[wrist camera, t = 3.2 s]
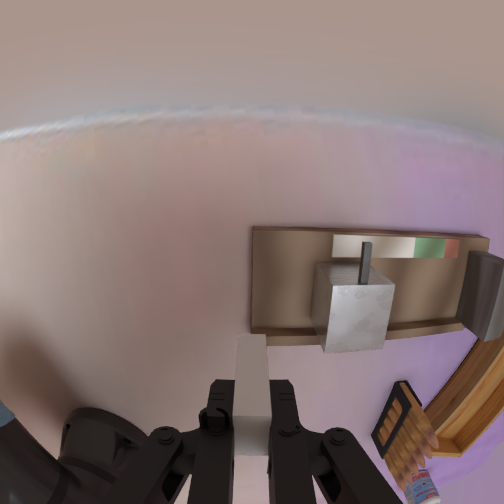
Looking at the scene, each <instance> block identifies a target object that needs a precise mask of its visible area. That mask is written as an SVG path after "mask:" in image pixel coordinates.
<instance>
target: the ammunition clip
mask: <svg viewBox="0 0 504 504" xmlns="http://www.w3.org/2000/svg"><path fill="white" fill-rule="evenodd" d="M421 407H422V404H421V402H420V400H419V399H418V397H417V396H416V394H415V392H414V391H413V389H412V388H411V386H410V384H409V383H408V381H399V382H395V384H394V386H393V389H392V391H391V394H390V396H389V398H388V401H387V403H386V405H385V407H384V410H383V412H382V414H381V416H380V418H379V420H378V423H377V425H376V427H375V429H374V431H373V433H372V435H371V437H372V439H373V441H374V443H375V445H376V448H377V450H378V452H379V454H380V456H381V458H382V459H384V460H385V462H386V464H387V467H388V469H389V471H390V472H391V474H392V475H393V477H394V479H395V481H396V483H397V485H398V486H399V488H400V489H401V490H402V491H404V492H406V482H405V480H406V481H407V482H408V483H409V484H410V485H411V484H412V474H411V472H412V473H413V474H414V475H415V476H417V477H418V476H419V470H418V465H420V466H421V467H422V468H425V459H424V456H423V454H424V455H425V456H426V457H428V458H429V459H431V458H432V452H431V448H430V446H429V443H430V444H431V445H432V446H433V447H434V448H436V449H438V448H439V443H438V439H437V436H436V434H435V432H434V430H433V428H432V427H431V425H430V422H429V419H428V418H427V416H426V414H425V413H424V411H423V410H422V408H421ZM428 442H429V443H428ZM383 457H384V458H383ZM416 462H417V463H418V465H417V463H416Z"/></svg>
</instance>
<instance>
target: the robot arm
mask: <svg viewBox="0 0 504 504" xmlns="http://www.w3.org/2000/svg"><path fill="white" fill-rule="evenodd" d="M198 416H199V423H200V427H199V428H198V429H195V430H193V431H189V432H182V433H180V432H179V431H178V430H177V429H175V428H173V427H168V426H165V427H159V428H157V429H155V430H154V431H153V432H151V434H150V435H149V436H148V437H147V436H146V435H145V434H144V433H142V432H141V431H140V430H139V429H137V428H136V427H135V426H133V425H132V424H130V423H129V422H127V421H125V420H123V419H122V418H120V417H117V416H115V415H113V414H111V413H108V412H105V411H102V410H98V409H92V408H80V409H77V410H74V411H73V412H72V413H71V414H70V415H69V417H68V418H67V420H66V422H65V423H64V426H63V432H62V439H61V446H60V454H59V457H58V459H57V460H56V459H55V458H54V457H53V456H52V455H51V454H50V453H49V452H48V451H47V450H46V449H45V448H44V447H43V446H42V445H41V444H40V443H39V442H38V441H37V440H36V439H35V438H34V437H33V436H32V435H31V434H30V433H29V432H28V431H27V430H26V429H25V427H24V426H23V425H22V424H21V423H20V422H19V421H18V420H17V418H16V417H15V414H14V413H13V412H12V411H10V410H9V409H8V408H7V407H6V406H5V405H4V404H3V403H2V401H1V400H0V504H174V502H175V500H176V498H177V497H178V495H179V493H180V491H181V489H182V487H183V486H184V484H185V482H186V480H187V478H188V476H189V474H192V478H191V484H190V490H189V496H188V501H187V504H232V500H233V480H234V455H268V456H269V460H268V470H267V474H268V476H269V500H270V504H317V503H316V497H315V491H314V485H313V479H312V475H313V477H314V479H315V481H316V482H317V484H318V486H319V488H320V490H321V492H322V494H323V496H324V498H325V499H326V501H327V503H328V504H403V503H402V501H401V500H400V499H399V497H398V496H397V495H396V493H395V492H394V491H393V489H392V488H391V487H390V485H389V484H388V482H387V481H386V480H385V478H384V477H383V476H382V474H381V473H380V472H379V470H378V469H377V467H376V466H375V465H374V463H373V462H372V461H371V459H370V458H369V456H368V455H367V454H366V452H365V451H364V449H363V448H362V447H361V445H360V444H359V442H358V441H357V440H356V438H355V437H354V435H353V434H352V433H351V432H350V431H349V430H346V429H344V428H338V427H337V428H331V429H329V430H327V431H326V432H325V433H324V434H323V433H317V432H312V431H309V430H307V429H305V428H304V427H303V426H302V425H301V424H300V421H299V416H298V410H297V405H296V400H295V394H294V388H293V385H292V384H291V383H290V382H289V380H269V373H268V360H267V347H266V334H239V338H238V351H237V364H236V376H235V380H220V379H216V380H215V381H214V382H213V383H212V385H211V387H210V392H209V398H208V403H207V407H206V408H204V409H203V410H201V411H200V413H199V415H198Z"/></svg>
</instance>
